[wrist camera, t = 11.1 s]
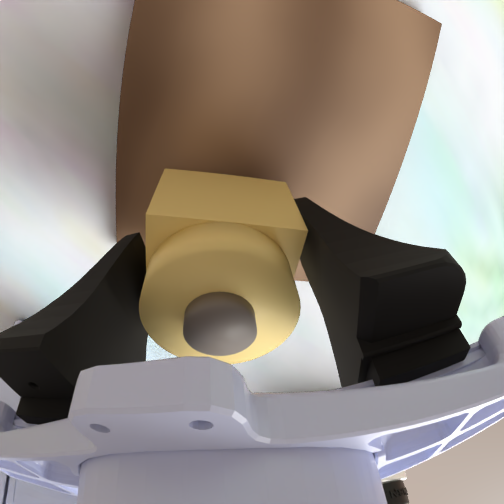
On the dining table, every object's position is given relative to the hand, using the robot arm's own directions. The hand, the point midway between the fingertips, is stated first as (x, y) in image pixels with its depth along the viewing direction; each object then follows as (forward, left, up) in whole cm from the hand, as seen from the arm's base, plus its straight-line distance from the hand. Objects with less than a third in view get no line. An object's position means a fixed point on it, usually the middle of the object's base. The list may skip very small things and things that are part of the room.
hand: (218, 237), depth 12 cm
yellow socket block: (0, 0, -1) cm, 1 cm away
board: (+2, +4, -3) cm, 5 cm away
